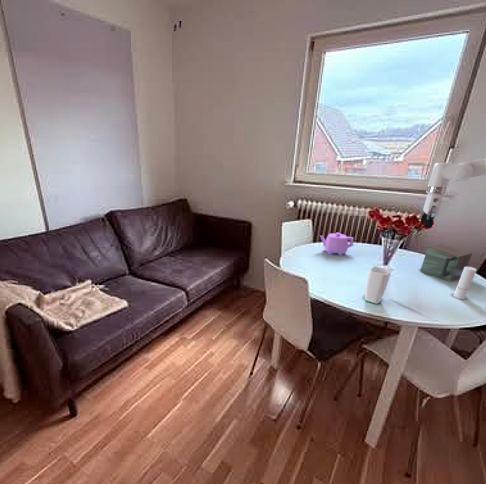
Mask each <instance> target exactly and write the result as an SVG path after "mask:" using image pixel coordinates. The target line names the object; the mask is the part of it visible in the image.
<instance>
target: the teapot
mask: <svg viewBox="0 0 486 484" xmlns="http://www.w3.org/2000/svg"><path fill="white" fill-rule="evenodd" d="M319 238H320V240H321V242H322V244H323V246H324V250H325V252H327V254H328V255H333V254H338V255H339V256H343V254H346V253H347V252H348V250H349V248H352V247H353V246H354V237H353V236H347V235H346V234H344V233H341V232H335V233H328V234H327V237H326V238H325V237H324V235H319ZM348 241H349V242H348Z"/></svg>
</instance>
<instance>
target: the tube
mask: <svg viewBox="0 0 486 484" xmlns="http://www.w3.org/2000/svg"><path fill="white" fill-rule="evenodd" d="M477 270H478V269H477V268H476V267H473V266H467V267H464V270H463V272H462V275H461V278H459V281H458V283H457V285H456V288H455V291H454V294H453V297H454V298H456V299H458V300H459V299H460V300H466V297H467V295H468V293H469V290H470V287H471V285H472V284H473V283H472V282H473V280H474V278H475V275H476V273H477Z"/></svg>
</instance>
